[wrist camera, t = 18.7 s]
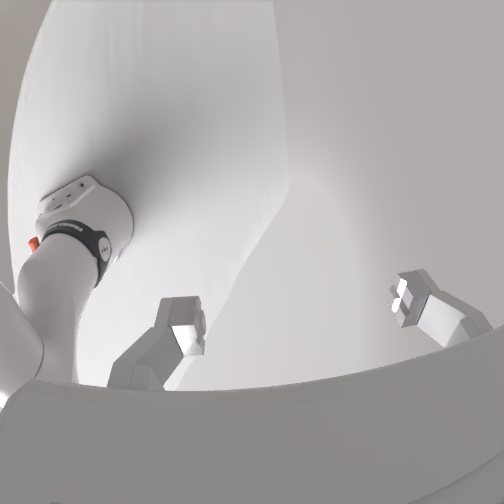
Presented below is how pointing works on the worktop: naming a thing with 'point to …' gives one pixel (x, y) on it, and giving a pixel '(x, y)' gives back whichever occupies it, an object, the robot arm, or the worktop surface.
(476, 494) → the robot arm
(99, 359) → the worktop surface
